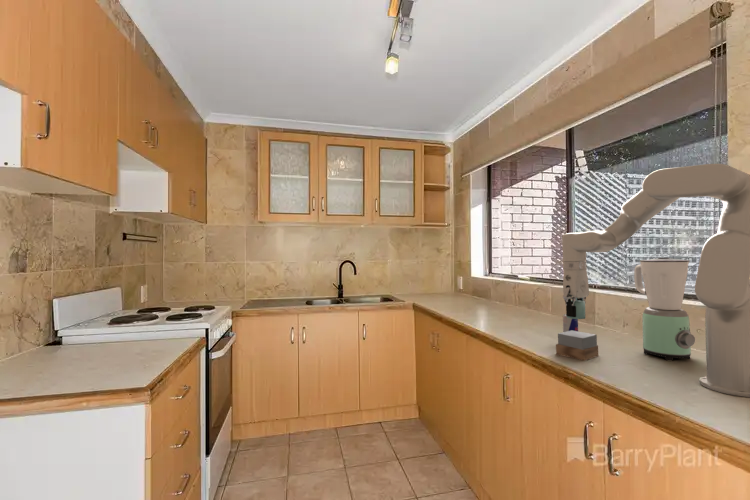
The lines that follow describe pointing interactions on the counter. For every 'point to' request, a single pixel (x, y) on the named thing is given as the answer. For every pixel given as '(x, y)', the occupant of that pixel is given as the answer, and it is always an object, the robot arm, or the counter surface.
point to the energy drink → (569, 324)
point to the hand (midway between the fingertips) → (575, 315)
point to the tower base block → (577, 352)
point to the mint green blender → (664, 307)
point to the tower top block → (577, 339)
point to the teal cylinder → (579, 310)
